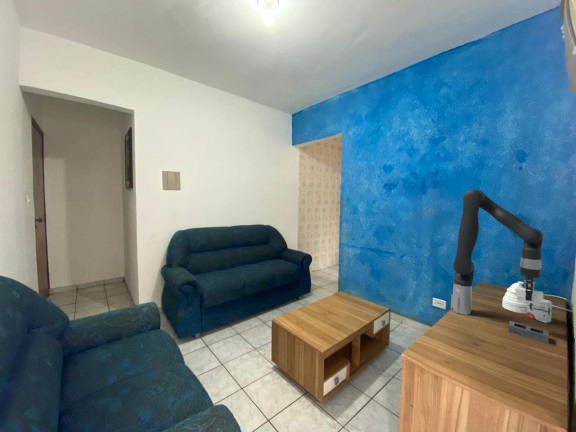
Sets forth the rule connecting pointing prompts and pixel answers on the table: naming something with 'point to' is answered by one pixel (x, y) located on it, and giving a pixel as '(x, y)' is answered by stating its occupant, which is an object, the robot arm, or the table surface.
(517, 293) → the light grey box
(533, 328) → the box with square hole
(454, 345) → the table surface
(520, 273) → the robot arm
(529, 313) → the ink box
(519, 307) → the honey pot
